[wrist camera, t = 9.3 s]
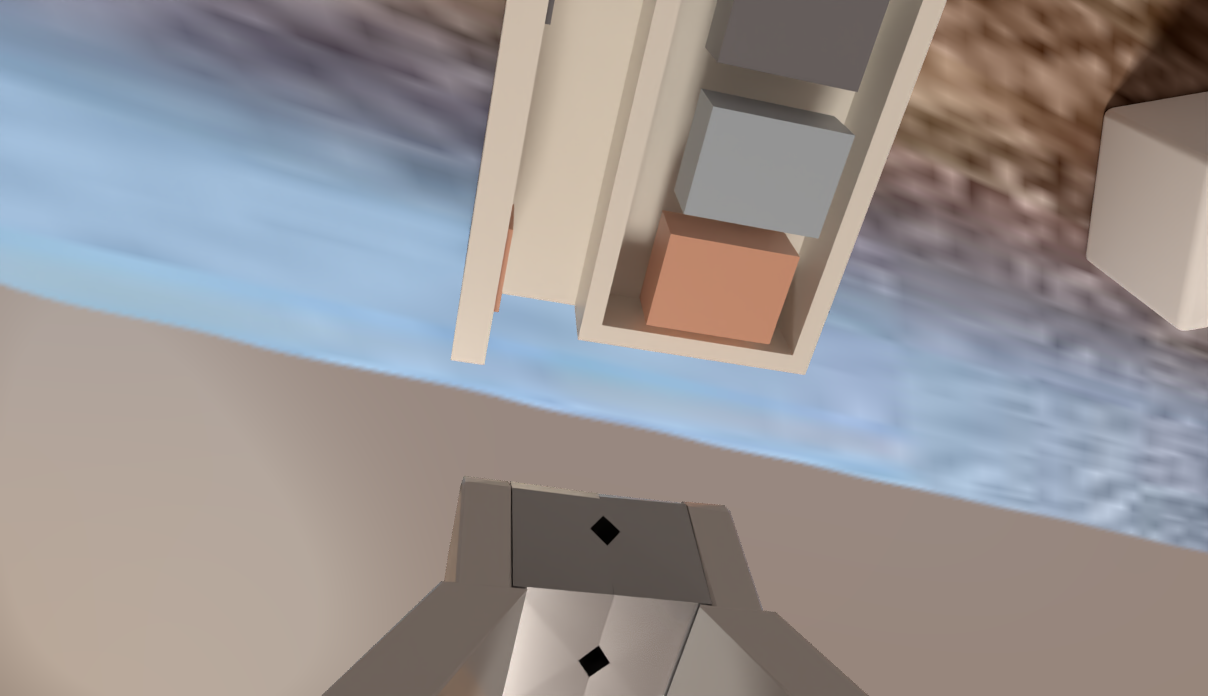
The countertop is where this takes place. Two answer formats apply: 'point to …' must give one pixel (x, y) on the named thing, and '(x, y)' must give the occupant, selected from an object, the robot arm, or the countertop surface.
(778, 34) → the charcoal key
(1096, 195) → the medicine bottle
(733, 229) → the terracotta key
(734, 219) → the slate key
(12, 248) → the countertop surface
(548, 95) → the cream open box
